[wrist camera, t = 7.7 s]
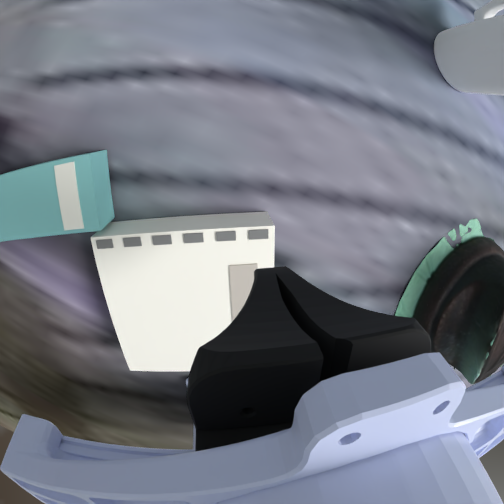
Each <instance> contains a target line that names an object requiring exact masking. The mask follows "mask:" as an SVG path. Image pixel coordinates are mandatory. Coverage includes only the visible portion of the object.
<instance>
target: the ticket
mask: <svg viewBox="0 0 504 504" xmlns="http://www.w3.org/2000/svg"><path fill="white" fill-rule="evenodd" d="M274 235H275V226H274V224H273V222H272V220H271V218H270V216H269V214H268V212H247V213H227V214H209V215H193V216H178V217H164V218H152V219H139V220H128V221H117V222H109V223H108V224H107V225H106V226H105V227H104V228H103V229H102V230H101V231H97V232H96V233H95V234H94V235H93V236H92V237H91V242H92V247H93V251H94V256H95V260H96V264H97V268H98V272H99V276H100V280H101V284H102V288H103V291H104V295H105V298H106V302H107V305H108V308H109V312H110V315H111V318H112V321H113V324H114V327H115V330H116V333H117V336H118V339H119V342H120V345H121V348H122V350H123V353H124V356H125V359H126V361H127V364H128V366H129V369H130V371H190V370H191V366H192V364H193V361H194V358H195V356H196V353H197V351H198V349H199V347H201V346H202V345H204V344H206V343H207V342H209V341H210V340H212V339H214V338H215V337H216V336H218V335H219V334H220V333H221V332H222V331H223V330H225V329H226V328H227V327H228V326H229V325H230V324H231V322H232V321H233V320H234V319H235V317H236V316H237V315H238V314H239V312H240V311H241V309H242V307H243V306H244V304H245V302H246V300H247V298H248V296H249V294H250V291H251V288H252V285H253V282H254V271H255V270H256V269H260V268H273V267H274Z"/></svg>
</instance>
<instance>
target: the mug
mask: <svg viewBox="0 0 504 504" xmlns="http://www.w3.org/2000/svg"><path fill="white" fill-rule="evenodd" d="M502 9H504V0H492V1H490V2H489V3H487V4H485V5H484V6H482V7H480V8H479V9H477V10H476V11H475V12H474V17H475V20H474V22H470V23H466V24H463V25H459V26H456V27H453V28H450V29H447V30H444V31H442V32H440V33H439V34H438V35H437V36H436V38H435V42H434V55H435V59H436V63H437V65H438V68H439V70H440V72H441V74H442V75H443V77H444V78H445V80H446V81H447V82H448V83H449V84H450V85H451V86H452V87H453V88H454V89H456V90H458V91H460V92H463V93H475V94H491V95H504V15H500V16H495V17H494V15H495V14H496V13H497V12H499V11H500V10H502Z"/></svg>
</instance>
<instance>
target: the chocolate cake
mask: <svg viewBox="0 0 504 504" xmlns="http://www.w3.org/2000/svg"><path fill="white" fill-rule="evenodd" d="M468 227H469V228H471V229H472V231H471V233H467V234H465V233H466V232H467V231H468ZM459 229H460V236H461V237H462V236H463V234H464V236H463V237H462V241H461V243H460V244H456V246H457V247H456V248H453V247H451V246H450V245H449V243H448V242H447V241H446V238H445V237H443V238H442V239H441V240H440V242H439V243H438V244H437V245H436V246H435V247H434V248H433V249H432V251H431V252H429V253H428V254H427V255H426V257H425V258H424V260H423V261H422V263H421V264H420V265H419V267H418V268H417V270H416V271H415V273H414V275H413V276H412V278H411V280H410V282H409V284H408V286H407V288H406V290H405V292H404V294H403V296H402V298H401V300H400V302H399V305H398V308H397V310H396V314H395V316H401V317H410V318H415V319H416V320H417V321H418V322H419V324H420V325H421V326H422V327H423V328H424V329H425V331H426V332H427V333H428V334H429V336H430V339H431V350H430V353H438V352H440V354H441V355H442V356H443V357H444V359H445V360H446V361H447V362H448V364H450V365H452V366H453V367H454V369H455V368H456V369H457V370H459V371H460V372H461V373H462V374H463V375H464V377H465V378H466V379H467V380H468V382H469V383H471V384H476V383H478V382H480V381H482V380H484V379H486V378H487V377H490V376H491V374H492V373H494V372H495V371H496V370H497V369H498V368H499V367H501V366H502V365H503V364H504V251H503V250H502V249H501V248H500V247H499V246H498V245H497V244H496V243H495V242H494V240H493V239H491V238H486V237H484V236H483V234H482V231H481V230H480V229H481V226H480V224H479V222H478V219H473V220H470V221H469V223H468V224H467V225H466V227H465V226H463V225H461V224H460V226H459ZM448 235H449V236H450V237H451V239H452V240H453V241H455V240H456V232H455V229H453V230H451V231H450V232H449V233H448Z"/></svg>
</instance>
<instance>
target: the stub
mask: <svg viewBox="0 0 504 504" xmlns="http://www.w3.org/2000/svg"><path fill="white" fill-rule="evenodd" d="M114 218H115V215H114V209H113V202H112V195H111V187H110V178H109V169H108V159H107V150H102V151H97V152H91V153H86V154H81V155H76V156H71V157H66V158H62V159H57V160H53V161H48V162H44V163H40V164H36V165H32V166H29V167H25V168H21V169H18V170H14V171H11V172H7V173H4V174H1V175H0V242H1V241H9V240H17V239H26V238H35V237H44V236H53V235H62V234H72V233H82V232H93V231H101V230H102V229H103V228H104V227H105V226H106V225H107V224H108V223H109V222H111V221H112V220H113V219H114Z"/></svg>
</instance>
